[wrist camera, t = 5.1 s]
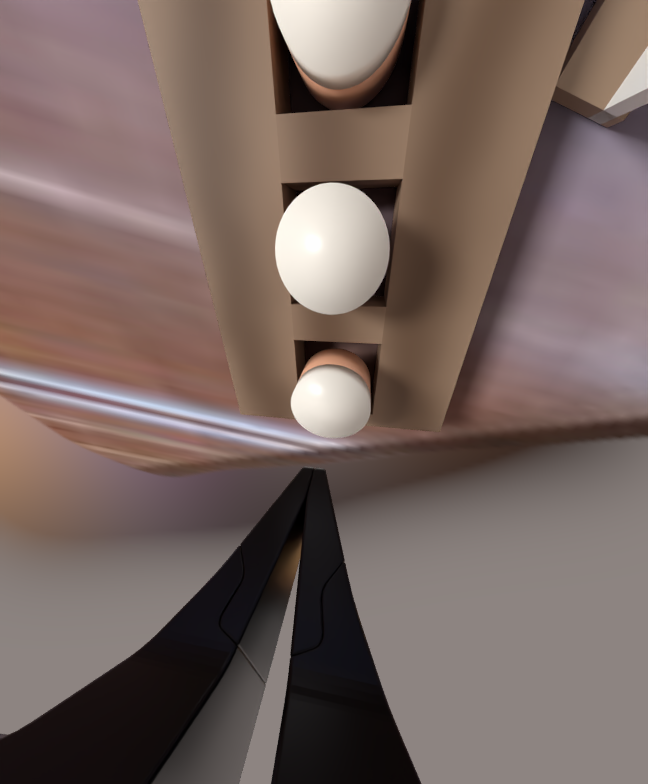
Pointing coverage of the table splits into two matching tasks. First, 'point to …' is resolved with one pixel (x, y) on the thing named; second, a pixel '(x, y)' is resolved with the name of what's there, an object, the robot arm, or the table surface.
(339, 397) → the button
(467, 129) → the button board
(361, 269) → the middle button
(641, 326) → the table surface
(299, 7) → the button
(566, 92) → the card
